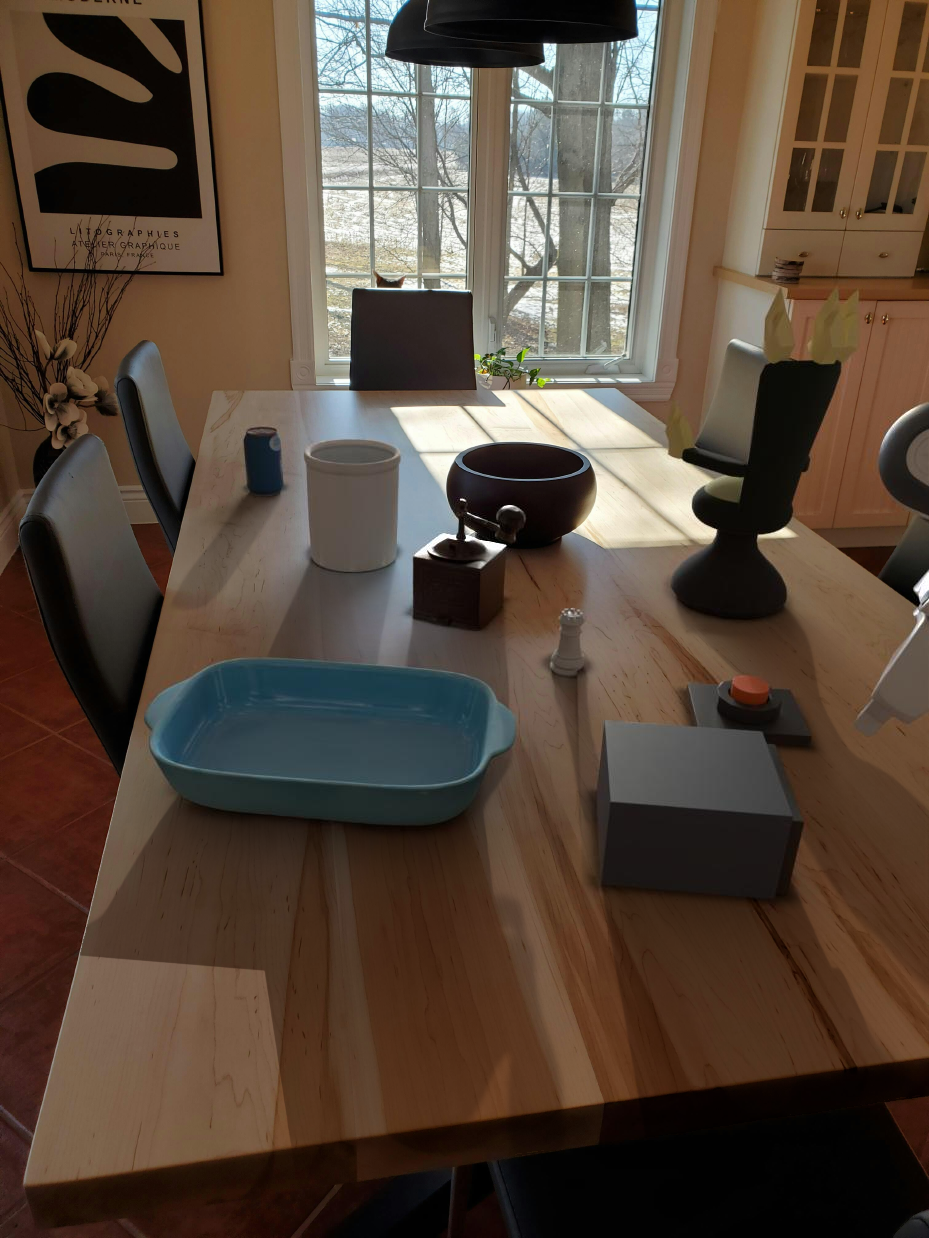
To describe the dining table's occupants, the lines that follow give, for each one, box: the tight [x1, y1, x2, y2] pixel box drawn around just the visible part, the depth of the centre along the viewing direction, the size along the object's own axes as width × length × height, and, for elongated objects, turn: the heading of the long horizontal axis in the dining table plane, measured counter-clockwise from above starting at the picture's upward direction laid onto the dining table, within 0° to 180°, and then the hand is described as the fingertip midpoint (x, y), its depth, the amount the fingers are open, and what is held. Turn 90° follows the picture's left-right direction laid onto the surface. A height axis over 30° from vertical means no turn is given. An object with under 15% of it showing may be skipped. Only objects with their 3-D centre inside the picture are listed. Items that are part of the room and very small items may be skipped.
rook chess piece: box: [549, 607, 586, 678], centre depth 111 cm, size 4×4×8 cm
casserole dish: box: [143, 657, 517, 826], centre depth 91 cm, size 37×22×7 cm, turn 85°
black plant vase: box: [664, 286, 860, 619], centre depth 123 cm, size 19×22×45 cm
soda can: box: [242, 426, 285, 497], centre depth 171 cm, size 7×7×12 cm
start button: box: [730, 674, 771, 705], centre depth 101 cm, size 4×4×2 cm
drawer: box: [767, 744, 805, 896], centre depth 80 cm, size 15×11×8 cm
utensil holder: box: [303, 438, 402, 573], centre depth 141 cm, size 15×15×18 cm
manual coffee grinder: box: [412, 498, 527, 631], centre depth 123 cm, size 16×11×18 cm
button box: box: [685, 679, 813, 748], centre depth 102 cm, size 12×10×4 cm
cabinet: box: [595, 719, 793, 901], centre depth 81 cm, size 15×13×10 cm
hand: (862, 728), depth 79 cm, fingers closed
